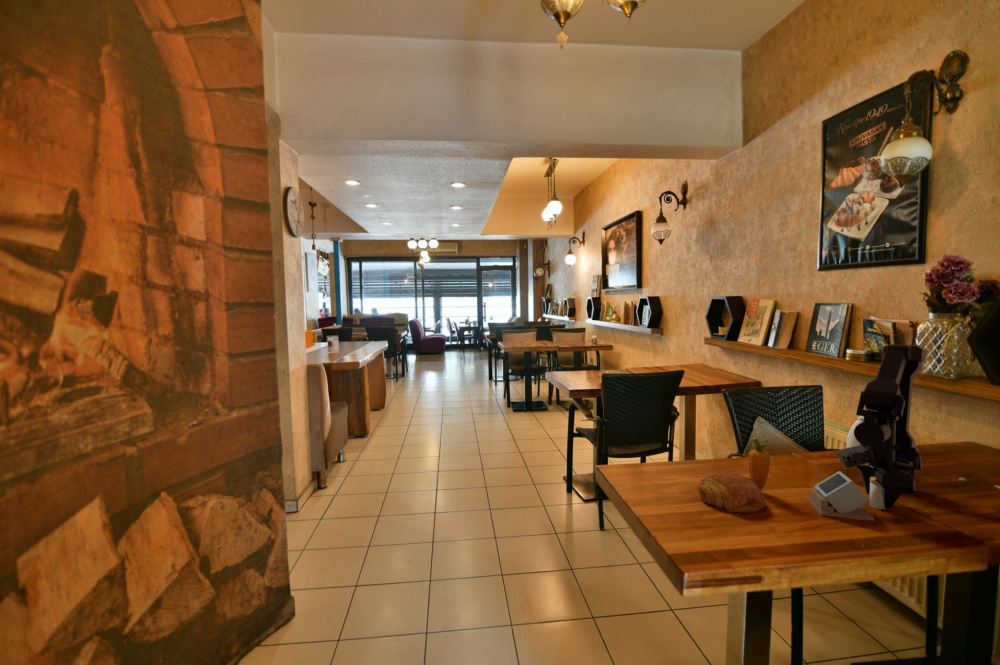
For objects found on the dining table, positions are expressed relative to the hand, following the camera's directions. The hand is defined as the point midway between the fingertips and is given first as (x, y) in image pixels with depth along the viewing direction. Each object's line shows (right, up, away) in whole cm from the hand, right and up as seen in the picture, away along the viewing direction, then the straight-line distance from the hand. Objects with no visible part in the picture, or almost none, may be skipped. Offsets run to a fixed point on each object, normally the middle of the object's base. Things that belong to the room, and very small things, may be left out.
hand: (877, 500), depth 113 cm
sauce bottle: (+19, 0, +30) cm, 35 cm away
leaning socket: (-11, -2, -2) cm, 11 cm away
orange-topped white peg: (0, -2, 0) cm, 2 cm away
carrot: (-24, -1, +10) cm, 26 cm away
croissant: (-34, -2, +3) cm, 35 cm away
